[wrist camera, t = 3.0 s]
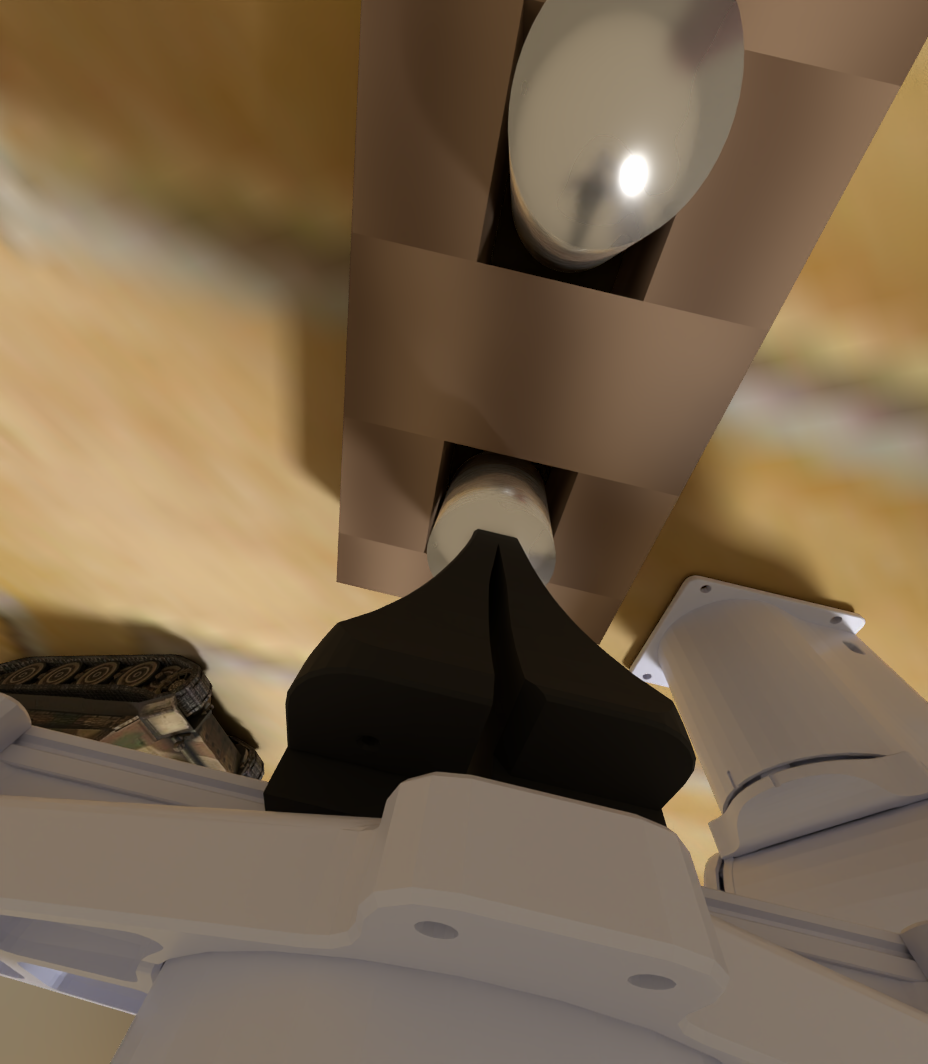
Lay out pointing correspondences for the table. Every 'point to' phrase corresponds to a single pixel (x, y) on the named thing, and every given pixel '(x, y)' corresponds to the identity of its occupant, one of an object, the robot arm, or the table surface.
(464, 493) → the peg
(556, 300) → the walnut block
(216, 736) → the model tank
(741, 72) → the peg
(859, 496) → the table surface
